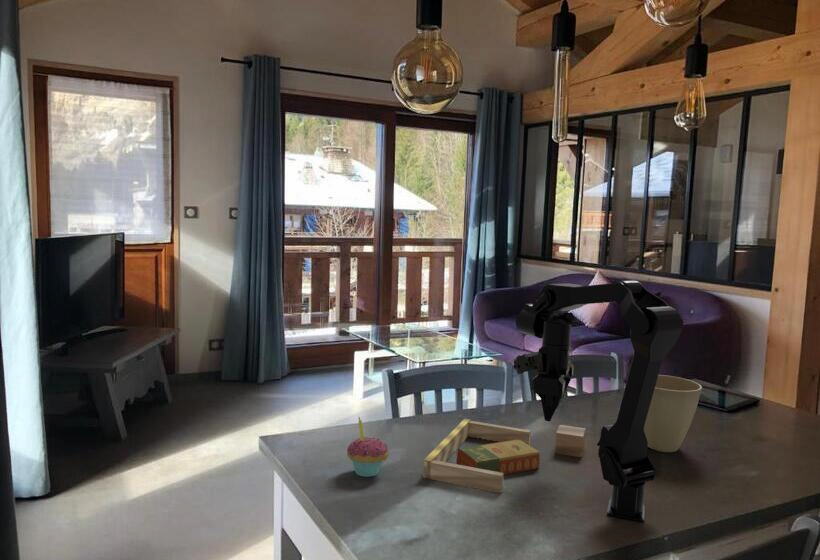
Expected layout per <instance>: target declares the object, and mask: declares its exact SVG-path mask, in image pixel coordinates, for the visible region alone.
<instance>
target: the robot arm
mask: <svg viewBox="0 0 820 560" xmlns="http://www.w3.org/2000/svg"><path fill="white" fill-rule="evenodd" d="M605 303H617V305H618V306H619V309H620V312H621V315H622V316H621V317H622V319H624V321H625V322H627V324H628V325H629V326H630V331H629V332H630V333H629V339H630V343H631V344H632V349H633V356H632V360H631V362H630V363H631V364H630V367H629V370H628V375H627V379H626V383H625V385H624V386H625V387H624V390H623V395H622V398H621V401H620V405H619V409H618V414H617V418H616V420H615V422H614V423H613V424H608V425H604V426H602V428H601V431H600V436H599V441H598V442H597V443H596V446H597V447H598V451H597V452H598V453H597V454H598V458H599V462H600V467H601V473H602V478H603V480H605V481H606V482H607V483H608V484H609V485H610V486H611V496H610V498H609V501H608V505H607V509H606V514H607V515H608V516H612V517H616V518H623V519H627V520H632V521H638V522H644V521H645V517H646V516H645V513H646V505H645V504H644V501H645V500H644V499H645V498H644V497H645V485H646V482H650V481H651V482H653V481H655V479H656V477H657V475H658V470H657V468H656V466H655V465H654V462H653V461H652V459H651V457H650V455H649V454H648V447H647V446H648V441H647V437H646V434H645V431H644V425H645V422H646V418H647V414H648V411H649V407H650V404H651V400H652V396H653V393H654V389H655V385H656V382H657V378H658V375H660V371H661V367H662V363H663V361H664V358H665V357H666V356H667V354H668V353H669V352H670V351H671V350H672V349H673V348H674V347H675V345H676V344H677V341H678V340H679V337H680V335H681V333H682V331H683V328H684V320H683V318H682V317H681V314H680V312H679V311H678V310H677V309H676V308H674V307H673V306H670V304H668V303H667V301H666V300H664V299H662V298H661V297H659V296H658V295H656V294H655V293H653V292H652V291H650V290H649V289H647V287H646V286H644V284H643V283H642V282H640V281H638V280H619V281H617V282H611V283H601V284H591V285H582V284H575V283H568V282H567V283H548V284H544V285H542V289H541V291H540V293H539V294H538V296H537V298H536V300H535V301H534V302H533V303H524V305H523V309H522V310H521V311H520V312H519V313H518V315H517V317H516V318H515V327H516V329H517V331H518V332H519V333H522V334H524V335H528V336H530V337H534V338H537V339H541V341H542V342H541V347H539V349H538V351H533V352H528V353H523V354H521V355H520V354H517V356H516V357H514V359H513V360H512V361H513V369H515V370H516V374H517V375H522V374H524V373H526V372H530V371H535V370H536V373H538V374H536V375H535V376H534V377H533V378H532V380H531V387H530V388H531V389H530V390H532V392H533V393H534V394H536V395H537V396H538V397H539V399H540V401H541V402H540V403H541V406H542V411H543V417H544V420H545V422H551V421H552V418H553V416H554V414H555V412H556V410H557V409H558V408H559V405H560V403H561V401H562V399H563V396H564V394H565V393H566V391H567V389H568V387H569V385H570V382H571V380H572V378H573V376H574V370H575V369H574V368H575V365H574V364H573V363H572V362H571V360H569V359H570V354H571V351H572V350H571V349H572V346H571V333H572V326H577V325H578V326H579V324H580V321H579V320H578V318H576V317H575V315H574V313H573V312H567V311H574V310H577V309H580V308H582V307H584V306H586V305H591V304H605ZM561 313H563V314H561Z"/></svg>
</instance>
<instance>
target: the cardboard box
mask: <svg viewBox="0 0 820 560" xmlns="http://www.w3.org/2000/svg"><path fill="white" fill-rule="evenodd" d="M586 429H587V428H585V427H579V426H578V427H577V426H571V425H564V424H559V425H558V428H557V430H556V433H555V447H554V448H555V449H554V450H555V451H554V453H555V454H558V455H565V456H569V457H570V456H572V457H576V458H577V457H578V458H582V457H583V455H584V451H585V443H586Z"/></svg>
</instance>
